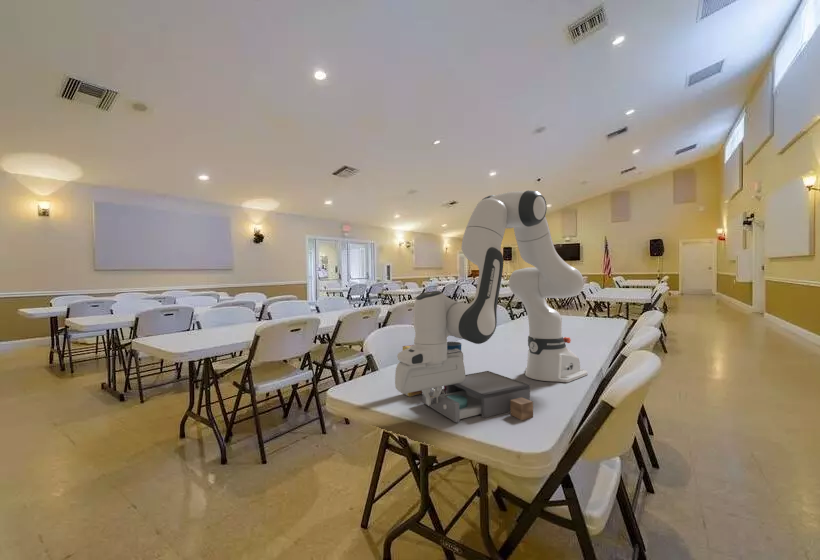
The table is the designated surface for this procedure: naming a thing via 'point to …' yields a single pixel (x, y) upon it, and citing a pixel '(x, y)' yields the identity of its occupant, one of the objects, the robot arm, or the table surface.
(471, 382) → the housing
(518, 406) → the block
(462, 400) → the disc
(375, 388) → the table surface
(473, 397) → the gray drawer
